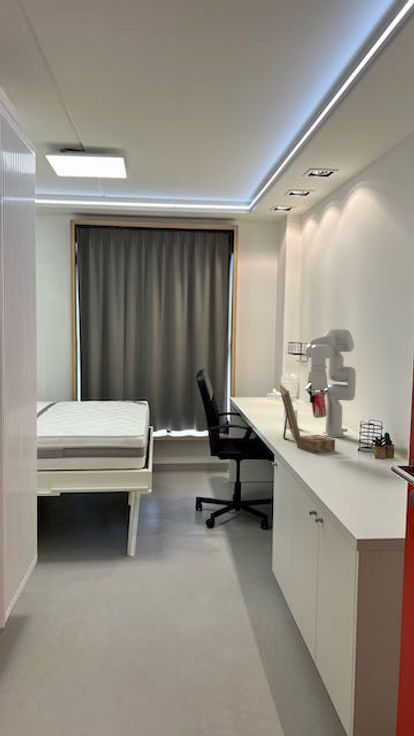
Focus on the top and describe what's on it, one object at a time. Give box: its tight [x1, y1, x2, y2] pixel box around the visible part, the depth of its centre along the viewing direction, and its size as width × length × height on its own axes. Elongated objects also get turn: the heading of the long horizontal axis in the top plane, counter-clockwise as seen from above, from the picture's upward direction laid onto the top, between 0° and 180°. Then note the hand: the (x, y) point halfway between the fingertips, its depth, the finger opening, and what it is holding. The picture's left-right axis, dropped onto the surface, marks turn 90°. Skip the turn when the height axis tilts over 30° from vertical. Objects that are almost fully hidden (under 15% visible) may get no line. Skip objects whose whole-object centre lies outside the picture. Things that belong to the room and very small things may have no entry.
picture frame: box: [279, 384, 301, 441], centre depth 309 cm, size 33×10×30 cm, turn 179°
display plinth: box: [296, 434, 336, 454], centre depth 283 cm, size 14×14×6 cm
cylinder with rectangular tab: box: [282, 408, 298, 430], centre depth 344 cm, size 9×9×12 cm
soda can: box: [311, 391, 327, 419], centre depth 282 cm, size 7×7×13 cm
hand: (317, 402), depth 282 cm, fingers closed on soda can, 5 cm apart
